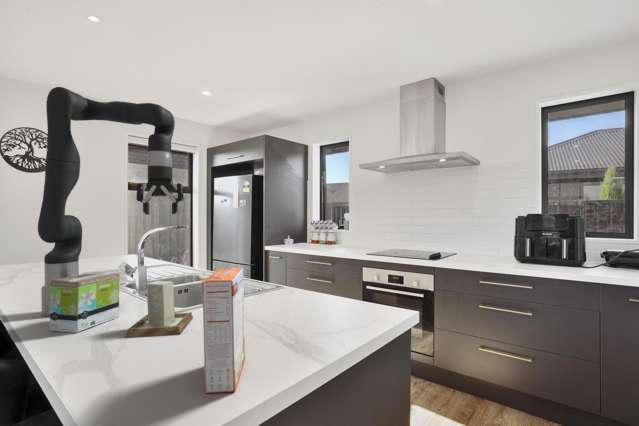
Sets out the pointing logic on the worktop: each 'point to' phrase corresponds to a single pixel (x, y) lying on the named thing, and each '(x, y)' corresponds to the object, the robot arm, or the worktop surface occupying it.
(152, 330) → the brown wooden picture frame
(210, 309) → the cracker box
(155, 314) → the skincare box
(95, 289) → the tea box
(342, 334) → the worktop surface
